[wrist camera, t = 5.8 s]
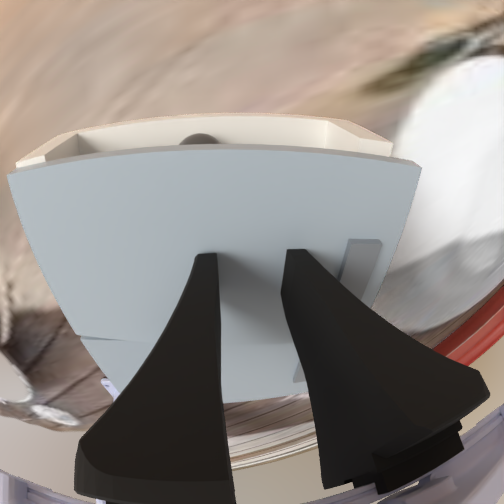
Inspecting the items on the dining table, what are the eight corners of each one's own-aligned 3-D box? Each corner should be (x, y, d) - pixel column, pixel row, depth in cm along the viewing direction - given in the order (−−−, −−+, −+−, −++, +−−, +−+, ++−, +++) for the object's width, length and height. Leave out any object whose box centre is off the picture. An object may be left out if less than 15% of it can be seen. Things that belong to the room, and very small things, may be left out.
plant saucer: (439, 370, 40) (446, 383, 38) (418, 352, 31) (428, 371, 29) (508, 309, 34) (517, 322, 31) (511, 267, 25) (525, 283, 22)
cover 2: (311, 384, 20) (314, 394, 19) (129, 397, 18) (128, 407, 17) (342, 313, 14) (348, 326, 14) (82, 330, 12) (79, 344, 12)
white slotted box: (298, 345, 23) (310, 385, 20) (134, 356, 21) (130, 398, 18) (347, 120, 12) (393, 143, 9) (59, 134, 10) (15, 163, 7)
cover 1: (352, 328, 13) (357, 342, 12) (79, 325, 12) (74, 339, 11) (412, 160, 8) (426, 171, 7) (15, 168, 7) (1, 178, 6)
